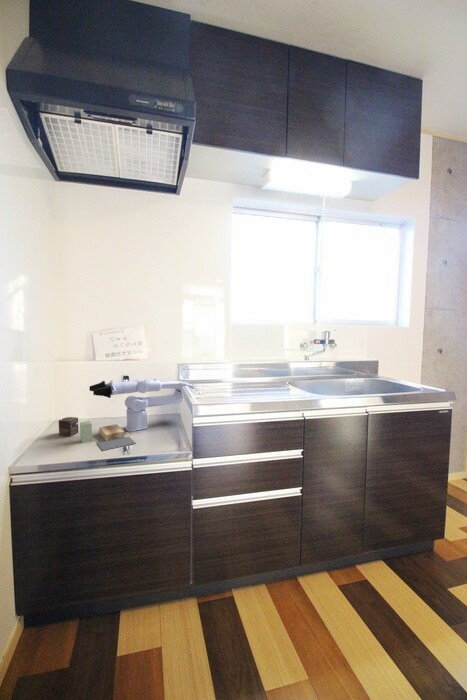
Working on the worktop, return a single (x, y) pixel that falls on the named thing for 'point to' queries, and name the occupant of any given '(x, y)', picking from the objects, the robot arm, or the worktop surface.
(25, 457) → the worktop surface
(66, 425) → the box
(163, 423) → the worktop surface
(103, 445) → the mat
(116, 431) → the step
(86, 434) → the block
